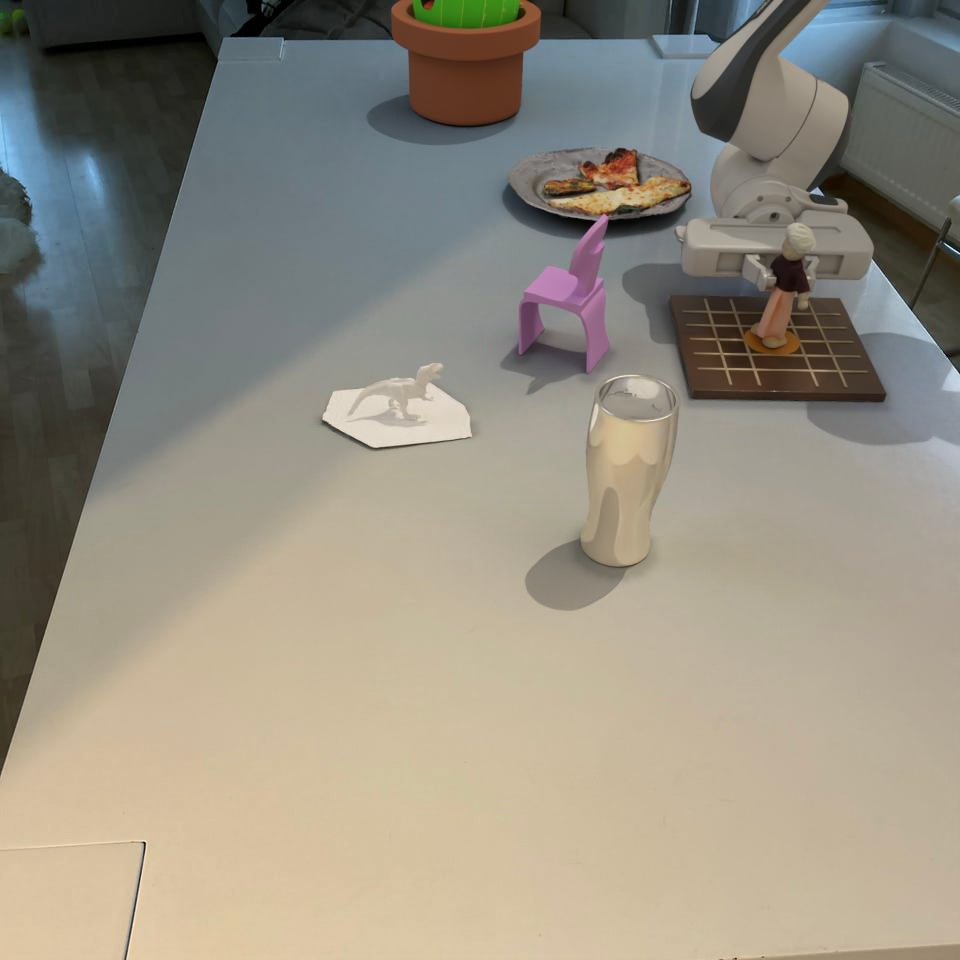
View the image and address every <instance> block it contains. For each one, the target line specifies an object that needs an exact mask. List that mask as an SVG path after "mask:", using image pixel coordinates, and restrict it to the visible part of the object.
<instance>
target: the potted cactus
mask: <svg viewBox="0 0 960 960" xmlns="http://www.w3.org/2000/svg"><path fill="white" fill-rule="evenodd" d="M390 18H391V19H390V21H391V37H392V39H393V41H394V43H396V44H397V45H398V46H400V47H402V48H403V49H405V50H407V56H408V57H407V59H408V87H409V88H408V90H409V104H410V107H411V108H412V110H413V111H414V112H415V113H416V114H418V116H421V117H423V118H425V119H428V120H429V121H433V122H436V123H440V124H444V125H450V126H459V127H471V126H472V127H473V126H483V125H490V124H494V123H498V122H501V121H504V120H507V119H509V118H511V117H512V116H514V115H516V114H517V113H518V111H519V110H520V109H521V106H522V93H523V75H524V73H523V72H524V71H523V70H524V54H525V52H526V51H529V50H531V49H533V48H534V47H536V46H537V45H538V43H539V42H540V38H541V21H542V20H541V19H542V11H541V9H540V8H539V7H538V6H537V5H535V4H534V3H532V2H530V1H529V0H398V1H397V2H396V3H394V4H393V5H392V7H391V9H390Z"/></svg>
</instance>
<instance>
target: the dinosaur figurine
mask: <svg viewBox="0 0 960 960" xmlns="http://www.w3.org/2000/svg"><path fill="white" fill-rule="evenodd" d="M443 370H444V365H443V364H442V363H441V362H436V363H435V362H432V363H430V364H427V365H423V366H419V369H418V371H417V373H416V379H414V378H412V377H408V378H400V377H398V376H397V377H393V378H392V377H391V378H390V379H383V380H380V381H377V382H374V383H372V384H371V385H368V386H366V387H364V388H354V389H340V390H333V392H332V395H331V396H330V398H329V401H328V405H327V406H326V409H325V411H324V413H323V414H322V421H324V422H327V423H328V424H329V425H330V426H331V427H334V428H335V429H337V430H339V431H341V432H342V433H344V434H346V435H348V436H350V437H352V438H354V439H356V440H357V441H360V442H362V443H364V444H365V445H367V446H369V447H371V448H375V449H376V448H377V449H378V448H385V447H395V446H405V445H414V444H422V443H423V444H424V443H425V444H426V443H434V442H441V441H451V440H459V439H466V438H473V434H472V431H471V416H470V414H469V412H468V410H467V408H466V405H464V404H462V403H461V402H459V401H458V400H456V399H455V398H453V397H452V396H451V395H449V394H448V393H446V392H445V391H444V390H442V389H440V388H439V387H437V386H436V385H435V384H433V383H432V382H431V381H432V380H439V379H442V375H440V374H438V373H439V372H441V371H443Z"/></svg>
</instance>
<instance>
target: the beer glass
mask: <svg viewBox="0 0 960 960" xmlns="http://www.w3.org/2000/svg"><path fill="white" fill-rule="evenodd" d="M680 406H681V396H680V394H679V392H678V391H677V389H676V388H675V387H674V386H673V385H672V384H670V383H668V381H665V380H663V379H661V378H658V377H656V376H652V375H648V374H643V373H642V374H641V373H623V374H617V375H613V376H611V377H608V378H606V379H604V380H603V381H601V383H599V384H598V386H597V387H596V389H595V391H594V399H593V404H592V409H591V411H590V417H589V423H588V429H587V436H586V444H585V445H586V447H585V467H586V479H587V490H588V491H587V492H588V512H587V516H586V519H585V522H584V525H583V528H582V530H581V534H580V541H579V542H580V546H581V549H582V551H583V552H584V553H585V555H587V557H589V558H590V559H592V560H593V561H595V562H596V563H599V564H601V565H605V566H608V567H615V568H616V567H617V568H621V567H622V568H623V567H628V566H632V565H635V564H637V563H640V562H641V561H643V560H644V559H645V558H646V556H648V554H649V552H650V549H651V518H652V513H653V510H654V508H655V505H656V502H657V500H658V497H659V495H660V493H661V491H662V489H663V486H664V483H665V482H666V480H667V476H668V473H669V470H670V467H671V464H672V461H673V458H674V452H675V447H676V441H677V436H678V435H677V434H678V425H679V416H680V415H679V414H680Z"/></svg>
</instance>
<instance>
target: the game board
mask: <svg viewBox="0 0 960 960" xmlns="http://www.w3.org/2000/svg"><path fill="white" fill-rule="evenodd" d="M769 298H770V296H757V295H755V296H753V295H751V296H750V295H707V294H705V295H704V294H701V295H699V294H669V297H668V306H669V311H670V314H671V319H672V323H673V326H674V331H675V334H676V335H675V336H676V338H677V343H678V347H679V351H680V355H681V359H682V364H683V367H684V371H685V375H686V379H687V384H688V387H689V390H690V395H691V399H715V400H716V399H718V400H723V399H724V400H765V401H766V400H771V401H774V400H775V401H777V400H778V401H821V402H822V401H823V402H824V401H825V402H875V403H876V402H877V403H883V402H885V400H886V397H887V395H888V393H887V391H886V389H885V386H884V384H883V383H882V381H881V379H880V377H879V374H878V373H877V370H876V368H875V367H874V363H872V361H871V359H870V356H869V354H868V351H867V350H866V348H865V347H864V343H863V342H862V340H861V338H860V336H859V334H858V332H857V329H856V328H855V326H854V324H853V321H852V319H851V317H850V316H849V314H848V312H847V308H846V307H845V305H844V303H843V301H842V299H841V297H808V300H807V302H808V307H807V308H806V309H805V310H800V309H799V308H798V302H799V300H798V296H794V299H793V304H792V311H791V315H790V319H789V322H788V325H787V328H786V332H785V335H784V336H785V337H786V340H787V343H786V344H785V345H782V346H779V347H776V348H770V347H767V346H765V345H764V344H763V343H762V340H763V338H761V337H759V336H758V335H755V334H753V333H752V332H751V327H752V326H753V325H754V324H756V323H760V321H761V319H762V316H763V313H764V311H765V308H766V306H767V303H768V301H769Z"/></svg>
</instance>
